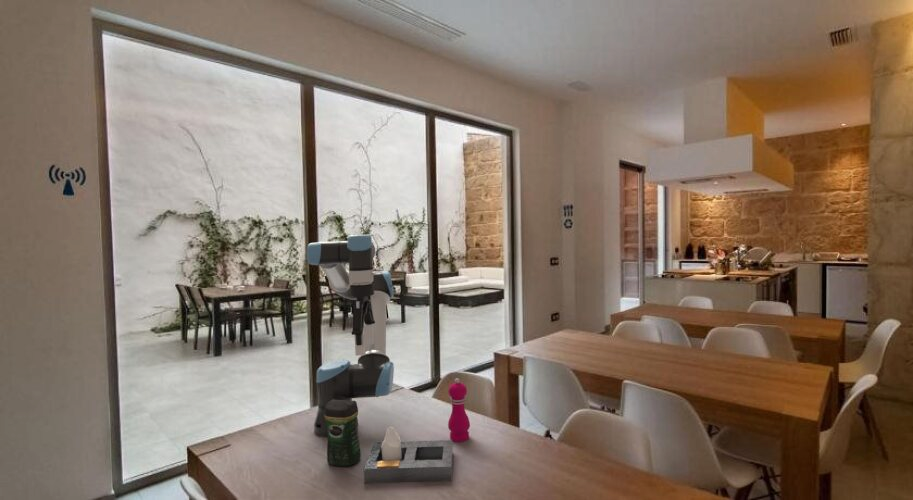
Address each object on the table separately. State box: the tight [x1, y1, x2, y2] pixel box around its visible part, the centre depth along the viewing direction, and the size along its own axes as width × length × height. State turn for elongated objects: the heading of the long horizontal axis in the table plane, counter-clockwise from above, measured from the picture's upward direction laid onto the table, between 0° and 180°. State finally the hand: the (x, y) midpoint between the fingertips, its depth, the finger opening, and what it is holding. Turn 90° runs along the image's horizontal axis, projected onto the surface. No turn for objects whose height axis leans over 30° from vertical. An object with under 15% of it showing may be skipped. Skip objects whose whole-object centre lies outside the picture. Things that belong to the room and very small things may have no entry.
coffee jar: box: [325, 399, 362, 467], centre depth 141 cm, size 10×8×19 cm
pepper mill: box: [447, 377, 471, 443], centre depth 153 cm, size 7×7×20 cm
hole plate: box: [363, 439, 454, 484], centre depth 136 cm, size 16×24×4 cm, turn 89°
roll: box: [381, 426, 402, 461], centre depth 136 cm, size 6×12×6 cm
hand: (365, 349), depth 149 cm, fingers open, 13 cm apart
